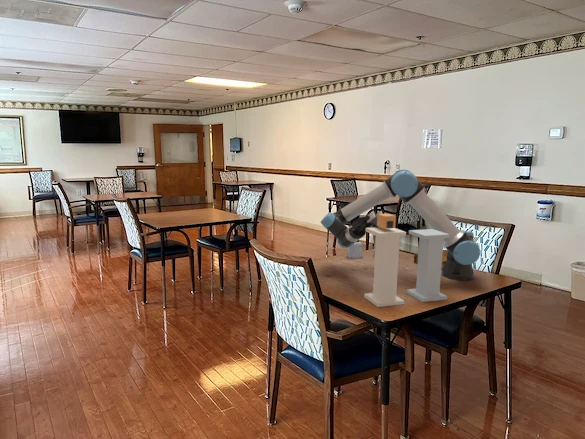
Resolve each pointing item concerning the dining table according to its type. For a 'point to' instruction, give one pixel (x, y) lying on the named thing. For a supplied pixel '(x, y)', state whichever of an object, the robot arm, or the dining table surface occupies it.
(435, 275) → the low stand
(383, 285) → the stand
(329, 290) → the dining table surface
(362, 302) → the dining table surface
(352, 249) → the medicine box
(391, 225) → the orange and black bar
